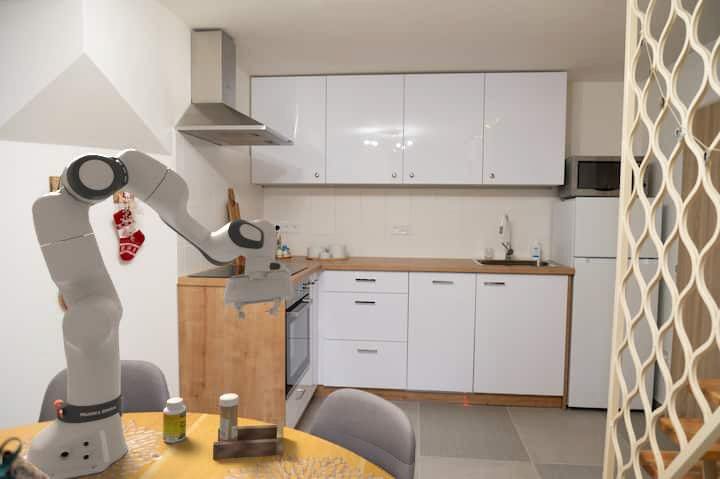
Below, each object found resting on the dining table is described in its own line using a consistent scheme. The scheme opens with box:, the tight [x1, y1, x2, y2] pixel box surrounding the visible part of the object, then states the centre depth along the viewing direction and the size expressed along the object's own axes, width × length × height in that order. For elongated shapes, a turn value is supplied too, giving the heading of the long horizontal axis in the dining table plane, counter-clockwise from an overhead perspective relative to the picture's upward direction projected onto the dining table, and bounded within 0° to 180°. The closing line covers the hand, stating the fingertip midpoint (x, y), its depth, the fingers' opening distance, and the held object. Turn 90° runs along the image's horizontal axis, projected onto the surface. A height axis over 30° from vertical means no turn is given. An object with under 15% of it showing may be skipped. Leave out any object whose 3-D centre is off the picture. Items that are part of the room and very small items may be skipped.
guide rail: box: [212, 420, 285, 460], centre depth 115 cm, size 17×10×4 cm, turn 99°
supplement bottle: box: [162, 397, 187, 444], centre depth 119 cm, size 6×6×10 cm
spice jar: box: [219, 393, 239, 442], centre depth 114 cm, size 5×5×14 cm
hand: (256, 317), depth 127 cm, fingers open, 8 cm apart
